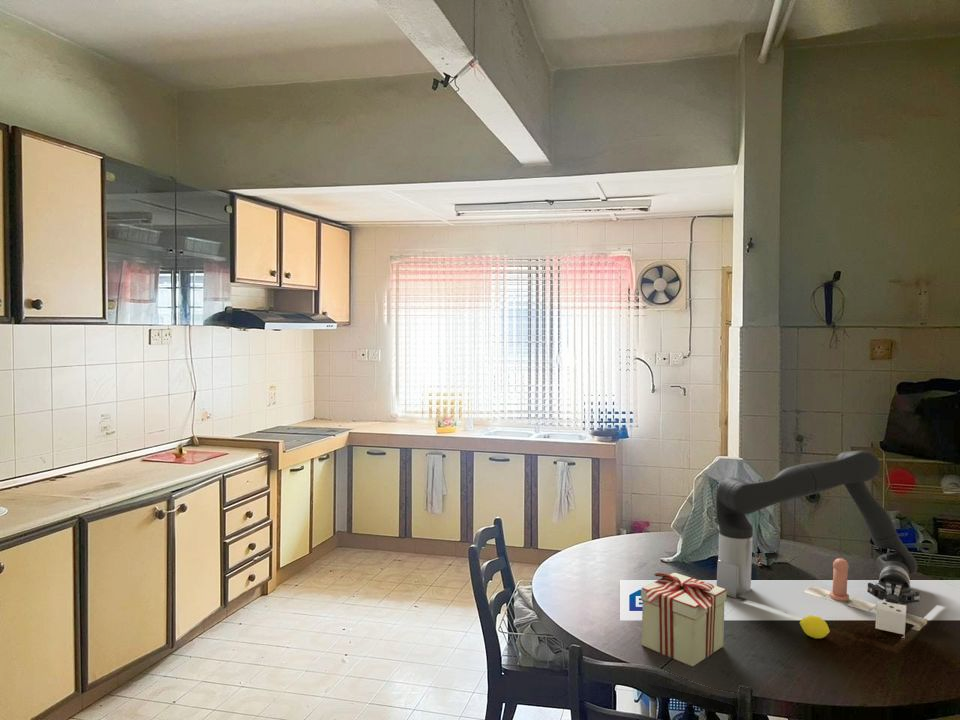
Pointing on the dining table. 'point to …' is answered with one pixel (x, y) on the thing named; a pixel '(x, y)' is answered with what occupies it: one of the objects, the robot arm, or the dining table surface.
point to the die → (891, 617)
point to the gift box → (683, 617)
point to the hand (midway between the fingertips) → (891, 603)
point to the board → (866, 607)
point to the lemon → (814, 626)
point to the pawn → (840, 580)
